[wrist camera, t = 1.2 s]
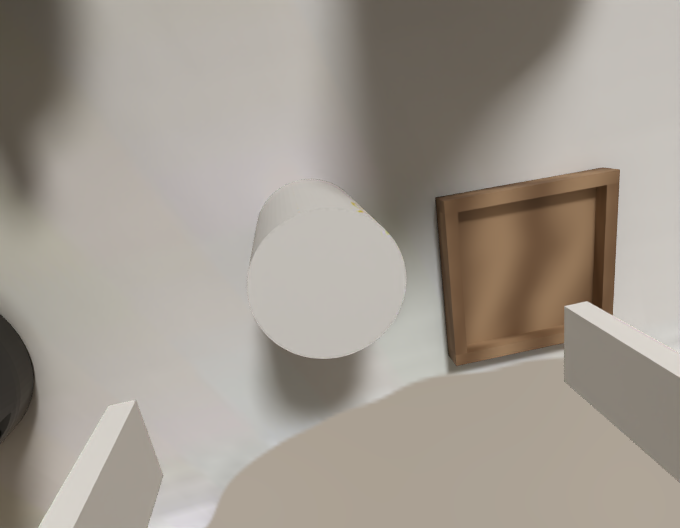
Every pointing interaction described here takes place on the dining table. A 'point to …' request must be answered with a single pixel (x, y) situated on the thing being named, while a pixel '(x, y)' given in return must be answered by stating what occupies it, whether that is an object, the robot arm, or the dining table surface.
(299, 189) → the grey upright rounded piece
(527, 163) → the dining table surface
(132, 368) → the dining table surface
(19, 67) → the dining table surface
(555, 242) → the tray
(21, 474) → the dining table surface
